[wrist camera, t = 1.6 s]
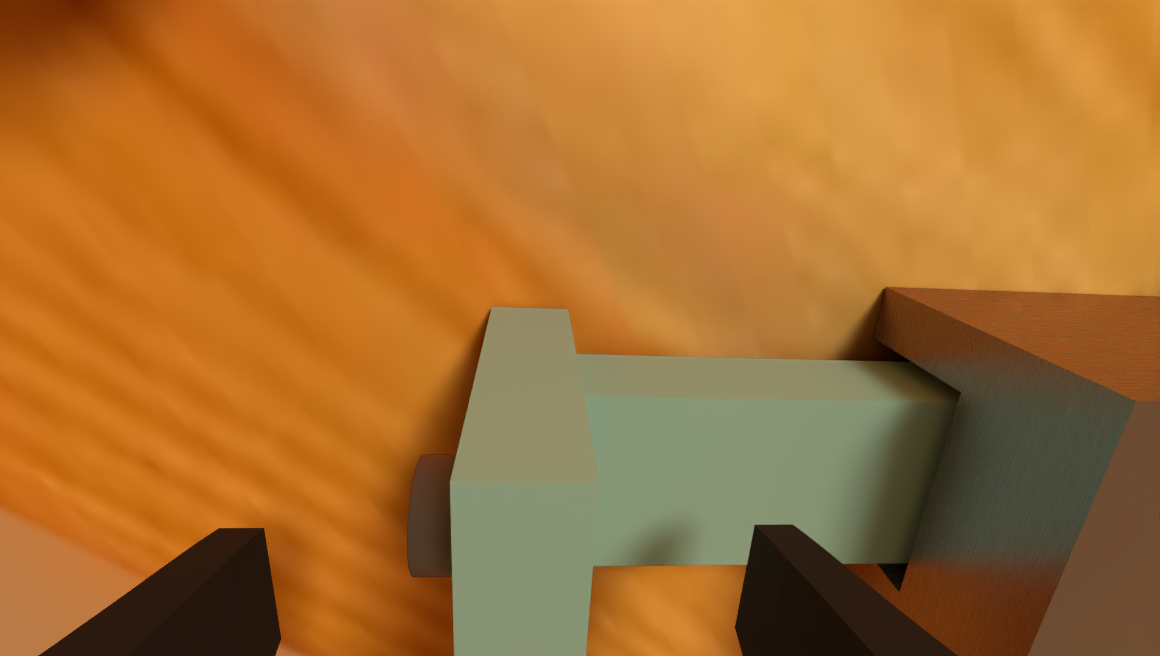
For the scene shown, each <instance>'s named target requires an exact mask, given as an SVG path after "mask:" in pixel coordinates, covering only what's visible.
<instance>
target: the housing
mask: <svg viewBox="0 0 1160 656" xmlns="http://www.w3.org/2000/svg"><path fill="white" fill-rule="evenodd" d="M874 338H875V339H876V340H878V341H879V342H881V343H883V344H884V345H886V346H887V347H889V348H891V349H892V350H894V351H895V352H897V353H899V354H900V355H902V356H903V357H905V358H907V359H908V360H910V361H911V362H913V363H915V364H916V365H918V366H919V367H921V368H923V369H924V370H926V371H927V372H929V373H931V374H932V375H934V376H935V377H937V378H939V379H940V380H942V381H943V382H945V383H947V384H948V385H950V386H951V387H953V388H955V389H956V390H958V391H959V392H961V395H960V398H959V402H958V405H957V408H956V411H955V414H954V418H953V421H952V424H951V427H950V431H949V434H948V437H947V440H946V444H945V447H944V450H943V453H942V456H941V460H940V463H939V466H938V469H937V473H936V476H935V479H934V482H933V486H932V489H931V492H930V495H929V498H928V502H927V505H926V508H925V511H924V515H923V518H922V521H921V524H920V528H919V531H918V534H917V537H916V541H915V544H914V547H913V550H912V553H911V557H910V560H909V563H873V564H844V565H845V566H846V567H847V568H848V569H850V570H851V571H852V572H853V573H855V574H856V575H857V576H858V577H859V578H861V579H862V580H863V581H864V582H866V583H867V584H868V585H869V586H870V587H872V588H873V589H874V590H875V591H877V592H878V593H879V594H880V595H882V596H883V597H884V598H885V599H886V600H888V601H889V602H890V603H891V604H893V605H894V606H895V607H896V608H898V609H899V610H900V611H901V612H903V613H904V614H905V615H906V616H908V617H909V618H910V619H911V620H913V621H914V622H915V623H916V624H918V625H919V626H920V627H922V628H923V629H924V630H925V631H927V632H928V633H929V634H930V635H932V636H933V637H934V638H936V639H937V640H938V641H939V642H941V643H942V644H943V645H945V646H946V647H947V648H949V649H950V650H951V651H953V652H954V653H955V654H956V655H958V656H1160V297H1146V296H1119V295H1091V294H1063V293H1035V292H1008V291H980V290H952V289H924V288H896V287H886V291H885V295H884V299H883V303H882V307H881V311H880V315H879V319H878V323H877V327H876V332H875V336H874Z"/></svg>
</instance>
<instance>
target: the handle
mask: <svg viewBox="0 0 1160 656" xmlns="http://www.w3.org/2000/svg"><path fill="white" fill-rule="evenodd" d="M960 395H961V392H959V391H958V390H956V389H955V388H953V387H951V386H950V385H948V384H947V383H945V382H943V381H942V380H940V379H939V378H937V377H935V376H934V375H932V374H931V373H929V372H927V371H926V370H924V369H923V368H921V367H919V366H918V365H916V364H915V363H913V362H892V361H850V360H807V359H765V358H722V357H680V356H637V355H595V354H576V350H575V344H574V339H573V333H572V328H571V322H570V317H569V311H568V309H549V308H517V307H492V308H491V312H490V316H489V320H488V324H487V329H486V333H485V337H484V341H483V345H482V350H481V354H480V358H479V362H478V366H477V371H476V375H475V379H474V383H473V387H472V391H471V396H470V400H469V404H468V408H467V412H466V417H465V421H464V425H463V429H462V433H461V438H460V442H459V446H458V450H457V454H456V455H434V454H423V455H422V456H421V457H420V459H419V461H418V463H417V466H416V470H415V474H414V478H413V483H412V489H411V495H410V503H409V513H408V527H407V557H408V567H409V571H410V574H411V576H412V577H452V591H453V633H454V656H586V649H587V637H588V624H589V611H590V599H591V586H592V573H593V566H678V565H747V562H748V557H749V552H750V547H751V541H752V536H753V531H754V526H755V525H781V524H793V525H794V526H796V527H797V528H798V529H800V530H801V531H802V532H804V533H805V534H806V535H808V536H809V537H810V538H811V539H813V540H814V541H815V542H816V543H818V544H819V545H820V546H821V547H823V548H824V549H825V550H826V551H828V552H829V553H830V554H831V555H833V556H834V557H835V558H836V559H837V560H839V561H840V562H841V563H842V564H873V563H909V560H910V557H911V553H912V550H913V547H914V544H915V541H916V537H917V534H918V531H919V528H920V524H921V521H922V518H923V515H924V511H925V508H926V505H927V502H928V498H929V495H930V492H931V489H932V486H933V482H934V479H935V476H936V473H937V469H938V466H939V463H940V460H941V456H942V453H943V450H944V447H945V444H946V440H947V437H948V434H949V431H950V427H951V424H952V421H953V418H954V414H955V411H956V408H957V405H958V402H959V398H960Z"/></svg>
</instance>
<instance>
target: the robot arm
mask: <svg viewBox="0 0 1160 656" xmlns="http://www.w3.org/2000/svg"><path fill="white" fill-rule="evenodd" d="M735 629H736V633H737V636H738V640H739V643H740V647H741V651H742V654H743V656H958V655H956V654H955V653H954V652H953V651H951V650H950V649H949V648H947V647H946V646H945V645H943V644H942V643H941V642H939V641H938V640H937V639H936V638H934V637H933V636H932V635H930V634H929V633H928V632H927V631H925V630H924V629H923V628H922V627H920V626H919V625H918V624H916V623H915V622H914V621H913V620H911V619H910V618H909V617H908V616H906V615H905V614H904V613H903V612H901V611H900V610H899V609H898V608H896V607H895V606H894V605H893V604H891V603H890V602H889V601H888V600H886V599H885V598H884V597H883V596H882V595H880V594H879V593H878V592H877V591H875V590H874V589H873V588H872V587H870V586H869V585H868V584H867V583H866V582H864V581H863V580H862V579H861V578H859V577H858V576H857V575H856V574H855V573H853V572H852V571H851V570H850V569H848V568H847V567H846V566H845V565H844V564H842V563H841V562H840V561H839V560H837V559H836V558H835V557H834V556H833V555H831V554H830V553H829V552H828V551H826V550H825V549H824V548H823V547H821V546H820V545H819V544H818V543H816V542H815V541H814V540H813V539H811V538H810V537H809V536H808V535H806V534H805V533H804V532H802V531H801V530H800V529H798V528H797V527H796V526H794V525H793V524H781V525H755V526H754V531H753V536H752V541H751V547H750V552H749V557H748V562H747V568H746V573H745V578H744V583H743V589H742V594H741V599H740V604H739V609H738V615H737V620H736V625H735ZM280 640H281V634H280V628H279V622H278V615H277V609H276V602H275V596H274V590H273V583H272V577H271V570H270V564H269V558H268V551H267V545H266V538H265V532H264V528H219V529H217V530H216V531H214V532H213V533H211V534H210V535H208V536H207V537H205V538H204V539H202V540H201V541H199V542H198V543H196V544H195V545H193V546H192V547H191V548H189V549H188V550H186V551H185V552H183V553H182V554H181V555H179V556H178V557H176V558H175V559H174V560H172V561H171V562H169V563H168V564H167V565H165V566H164V567H162V568H161V569H160V570H158V571H157V572H156V573H154V574H153V575H151V576H150V577H149V578H147V579H146V580H144V581H143V582H142V583H140V584H139V585H138V586H136V587H135V588H133V589H132V590H131V591H129V592H128V593H126V594H125V595H124V596H122V597H121V598H119V599H118V600H117V601H116V602H114V603H113V604H111V605H110V606H108V607H107V608H105V609H104V610H103V611H101V612H100V613H98V614H97V615H96V616H94V617H93V618H91V619H90V620H88V621H87V622H86V623H84V624H83V625H81V626H80V627H79V628H77V629H76V630H74V631H73V632H72V633H70V634H69V635H67V636H66V637H64V638H63V639H62V640H60V641H59V642H58V643H56V644H55V645H53V646H52V647H50V648H49V649H48V650H46V651H45V652H43V653H42V654H40V655H39V656H275V655H276V652H277V649H278V646H279V643H280Z"/></svg>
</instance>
